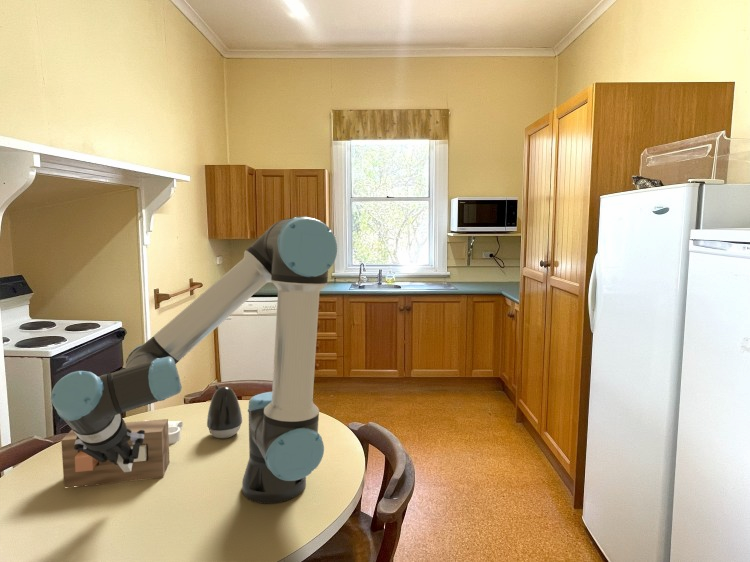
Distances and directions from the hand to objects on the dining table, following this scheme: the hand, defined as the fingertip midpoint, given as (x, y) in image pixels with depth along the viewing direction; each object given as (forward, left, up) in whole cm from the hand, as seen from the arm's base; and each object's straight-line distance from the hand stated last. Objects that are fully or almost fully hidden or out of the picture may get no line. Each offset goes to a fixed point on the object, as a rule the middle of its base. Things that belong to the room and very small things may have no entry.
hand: (128, 465), depth 104 cm
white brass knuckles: (+34, -4, -8) cm, 35 cm away
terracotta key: (+9, +9, -3) cm, 13 cm away
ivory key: (+9, -2, -3) cm, 10 cm away
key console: (+13, +3, -8) cm, 15 cm away
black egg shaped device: (+27, -24, -8) cm, 37 cm away
